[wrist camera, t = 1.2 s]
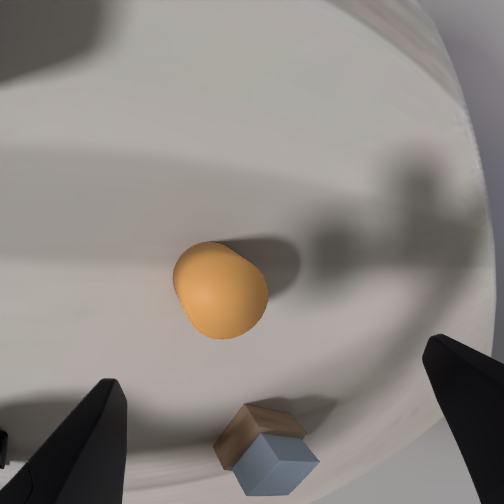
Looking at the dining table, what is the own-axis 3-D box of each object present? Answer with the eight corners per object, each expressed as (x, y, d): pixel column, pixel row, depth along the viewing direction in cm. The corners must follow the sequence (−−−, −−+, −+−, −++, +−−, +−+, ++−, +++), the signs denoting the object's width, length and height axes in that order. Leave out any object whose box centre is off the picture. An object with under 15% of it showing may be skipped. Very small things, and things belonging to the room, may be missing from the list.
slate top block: (272, 471, 26) (288, 495, 22) (231, 468, 23) (246, 495, 20) (300, 438, 26) (319, 461, 22) (260, 432, 23) (279, 460, 20)
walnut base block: (259, 451, 29) (273, 473, 26) (212, 444, 26) (223, 469, 23) (289, 412, 29) (306, 433, 26) (243, 402, 26) (258, 426, 23)
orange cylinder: (219, 319, 23) (241, 349, 19) (159, 292, 21) (169, 320, 17) (253, 261, 23) (283, 281, 19) (196, 228, 21) (214, 242, 17)
